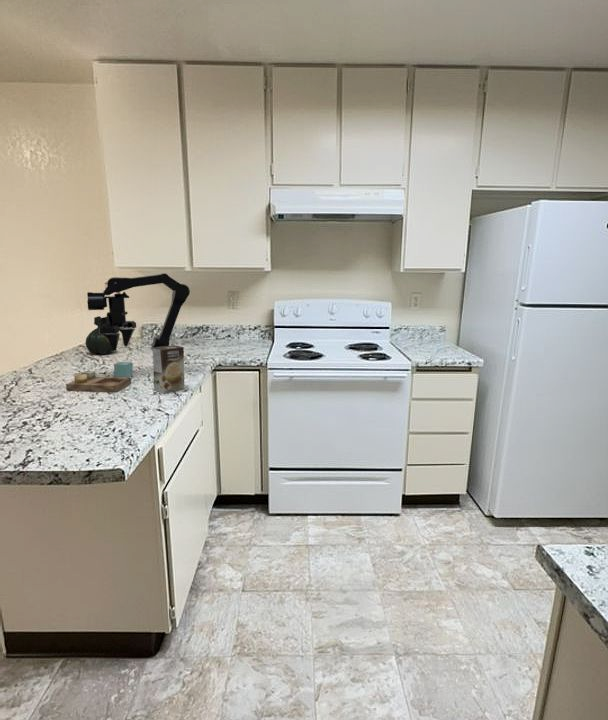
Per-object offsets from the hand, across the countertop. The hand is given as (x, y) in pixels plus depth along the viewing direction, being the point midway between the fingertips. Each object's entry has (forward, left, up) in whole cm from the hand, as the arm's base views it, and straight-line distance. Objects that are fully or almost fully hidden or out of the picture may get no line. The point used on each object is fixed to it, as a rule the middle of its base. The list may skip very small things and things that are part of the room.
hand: (120, 348), depth 164 cm
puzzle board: (+1, +16, -12) cm, 20 cm away
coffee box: (-25, +16, -12) cm, 32 cm away
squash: (+32, -46, -12) cm, 57 cm away
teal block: (-1, +1, -12) cm, 12 cm away
